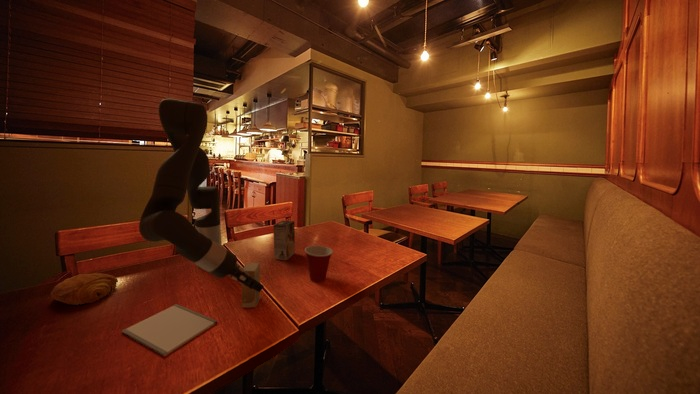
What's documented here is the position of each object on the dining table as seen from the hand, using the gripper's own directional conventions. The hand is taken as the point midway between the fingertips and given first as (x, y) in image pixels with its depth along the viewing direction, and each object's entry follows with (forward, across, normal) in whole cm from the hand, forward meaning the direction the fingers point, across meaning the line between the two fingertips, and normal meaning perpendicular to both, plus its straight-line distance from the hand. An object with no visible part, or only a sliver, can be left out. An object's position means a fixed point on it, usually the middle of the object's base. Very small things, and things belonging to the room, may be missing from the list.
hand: (255, 284), depth 84 cm
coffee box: (+23, +27, -15) cm, 39 cm away
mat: (-12, +3, +20) cm, 24 cm away
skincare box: (+3, 0, +5) cm, 6 cm away
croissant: (-23, +40, +32) cm, 56 cm away
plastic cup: (+22, -1, -13) cm, 25 cm away
